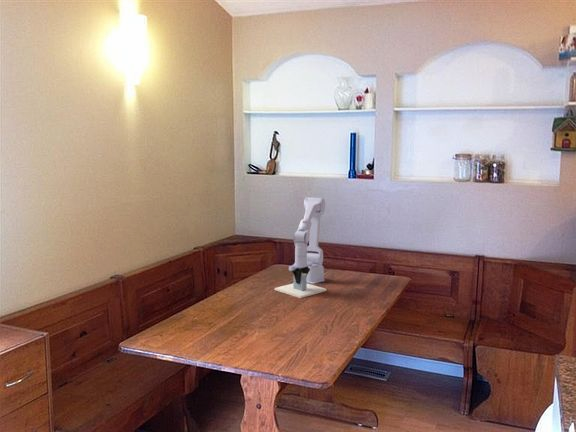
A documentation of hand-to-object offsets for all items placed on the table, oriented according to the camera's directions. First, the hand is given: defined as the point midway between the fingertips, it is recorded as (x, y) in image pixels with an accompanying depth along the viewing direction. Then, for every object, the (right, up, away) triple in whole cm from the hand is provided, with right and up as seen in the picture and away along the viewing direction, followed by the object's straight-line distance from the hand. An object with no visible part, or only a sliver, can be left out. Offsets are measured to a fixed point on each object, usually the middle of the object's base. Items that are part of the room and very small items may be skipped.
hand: (300, 282), depth 257 cm
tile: (0, -4, +2) cm, 4 cm away
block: (0, -3, +1) cm, 3 cm away
